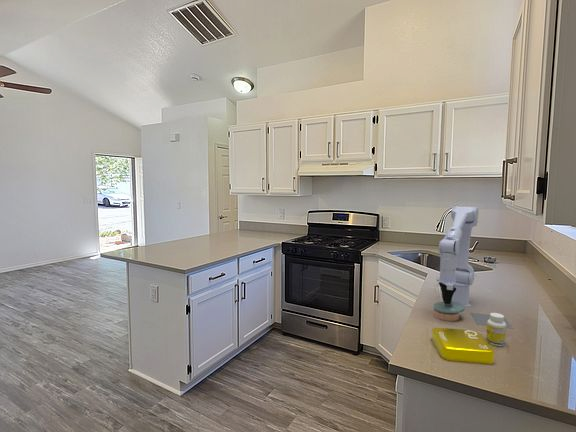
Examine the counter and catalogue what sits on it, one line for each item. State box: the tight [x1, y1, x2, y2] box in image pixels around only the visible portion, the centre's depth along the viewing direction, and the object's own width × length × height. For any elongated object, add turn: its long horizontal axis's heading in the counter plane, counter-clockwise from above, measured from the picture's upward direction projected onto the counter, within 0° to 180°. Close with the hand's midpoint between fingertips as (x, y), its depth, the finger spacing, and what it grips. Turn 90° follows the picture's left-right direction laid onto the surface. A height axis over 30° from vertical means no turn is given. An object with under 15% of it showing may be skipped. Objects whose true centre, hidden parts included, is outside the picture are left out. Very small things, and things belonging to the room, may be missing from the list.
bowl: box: [432, 308, 460, 322], centre depth 130 cm, size 9×9×3 cm
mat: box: [470, 312, 515, 330], centre depth 126 cm, size 12×12×1 cm
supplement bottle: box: [486, 312, 507, 347], centre depth 108 cm, size 5×5×10 cm
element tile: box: [431, 327, 495, 365], centre depth 104 cm, size 15×15×5 cm
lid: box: [433, 300, 465, 314], centre depth 129 cm, size 11×11×6 cm
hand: (446, 302), depth 129 cm, fingers closed on lid, 3 cm apart
